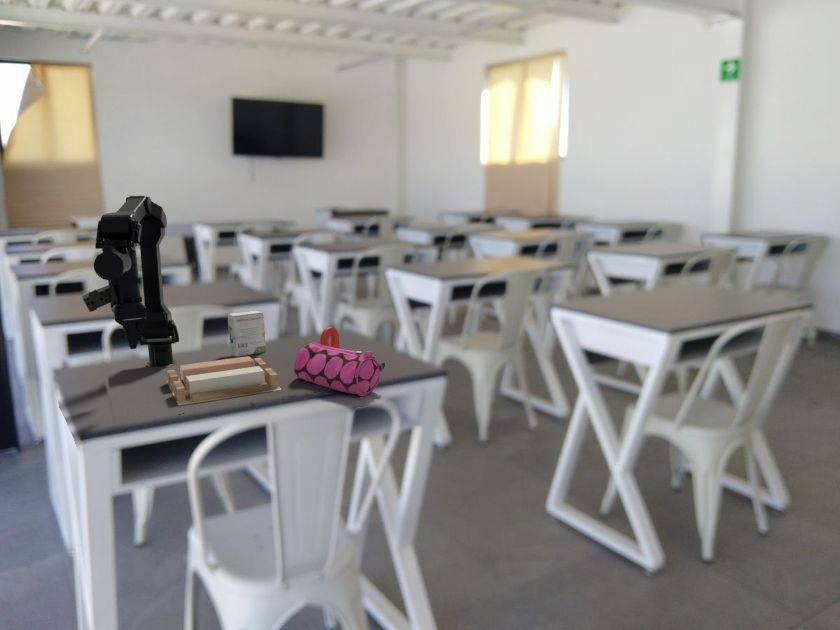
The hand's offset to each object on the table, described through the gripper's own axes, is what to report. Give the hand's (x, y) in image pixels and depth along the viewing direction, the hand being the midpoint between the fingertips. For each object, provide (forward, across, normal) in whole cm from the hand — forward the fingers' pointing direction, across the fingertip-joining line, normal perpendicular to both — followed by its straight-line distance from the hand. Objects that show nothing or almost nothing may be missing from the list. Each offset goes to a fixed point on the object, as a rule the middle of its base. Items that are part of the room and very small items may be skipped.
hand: (131, 344), depth 153 cm
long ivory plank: (+11, +9, +18) cm, 23 cm away
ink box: (+12, -23, +30) cm, 40 cm away
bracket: (+12, -11, +46) cm, 49 cm away
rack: (+12, +4, +18) cm, 22 cm away
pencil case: (+12, +15, +42) cm, 46 cm away
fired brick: (+11, -1, +18) cm, 21 cm away
